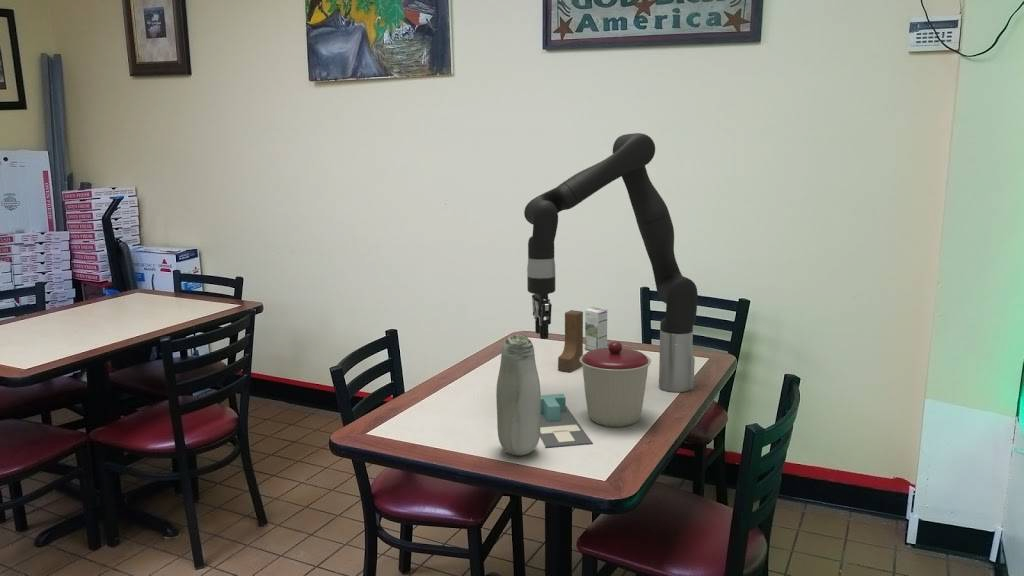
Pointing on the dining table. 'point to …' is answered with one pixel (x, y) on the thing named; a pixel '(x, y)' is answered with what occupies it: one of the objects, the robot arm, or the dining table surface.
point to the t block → (553, 406)
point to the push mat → (562, 431)
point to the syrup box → (595, 328)
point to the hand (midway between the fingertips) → (541, 335)
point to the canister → (614, 384)
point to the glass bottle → (518, 397)
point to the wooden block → (572, 342)
